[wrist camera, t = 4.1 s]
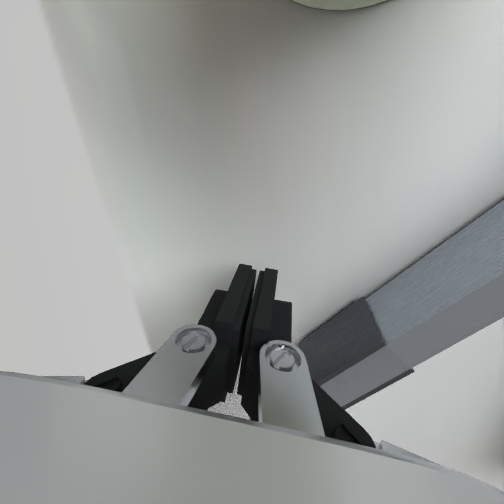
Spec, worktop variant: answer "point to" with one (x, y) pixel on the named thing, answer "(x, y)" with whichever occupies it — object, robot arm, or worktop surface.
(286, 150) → the worktop surface
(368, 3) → the can
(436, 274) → the bar
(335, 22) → the worktop surface
